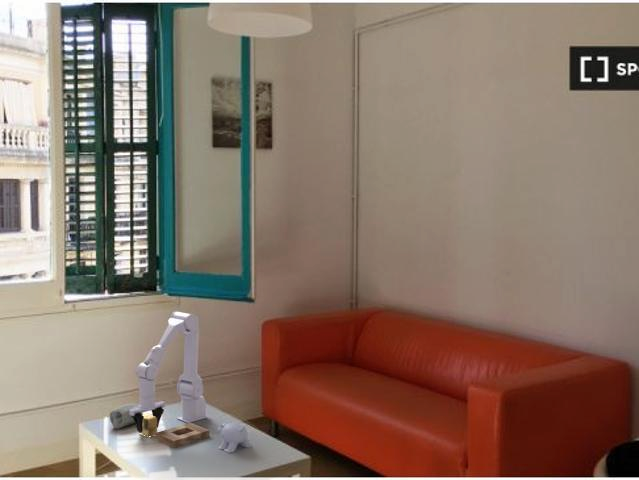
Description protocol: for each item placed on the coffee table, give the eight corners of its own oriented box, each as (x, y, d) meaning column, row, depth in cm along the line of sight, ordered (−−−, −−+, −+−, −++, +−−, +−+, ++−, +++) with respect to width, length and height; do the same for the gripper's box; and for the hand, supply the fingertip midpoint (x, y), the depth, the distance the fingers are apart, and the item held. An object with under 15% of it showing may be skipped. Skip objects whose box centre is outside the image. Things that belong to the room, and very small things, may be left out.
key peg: (147, 431, 294) (147, 413, 293) (157, 435, 289) (156, 417, 289) (138, 433, 291) (138, 416, 290) (148, 438, 287) (147, 419, 286)
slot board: (190, 428, 296) (190, 422, 296) (209, 436, 288) (209, 430, 288) (155, 439, 285) (155, 432, 285) (174, 447, 277) (174, 441, 276)
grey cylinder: (118, 425, 291) (116, 399, 294) (105, 431, 296) (104, 405, 300) (149, 425, 300) (147, 400, 304) (135, 431, 306) (134, 406, 310)
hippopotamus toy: (232, 437, 288) (232, 412, 287) (257, 448, 277) (256, 422, 276) (208, 444, 281) (208, 418, 280) (232, 455, 270) (232, 429, 269)
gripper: (157, 388, 297) (158, 422, 298) (124, 396, 286) (125, 431, 288) (167, 392, 292) (168, 426, 293) (135, 400, 281) (135, 436, 283)
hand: (147, 429), depth 290 cm, fingers open, 6 cm apart
